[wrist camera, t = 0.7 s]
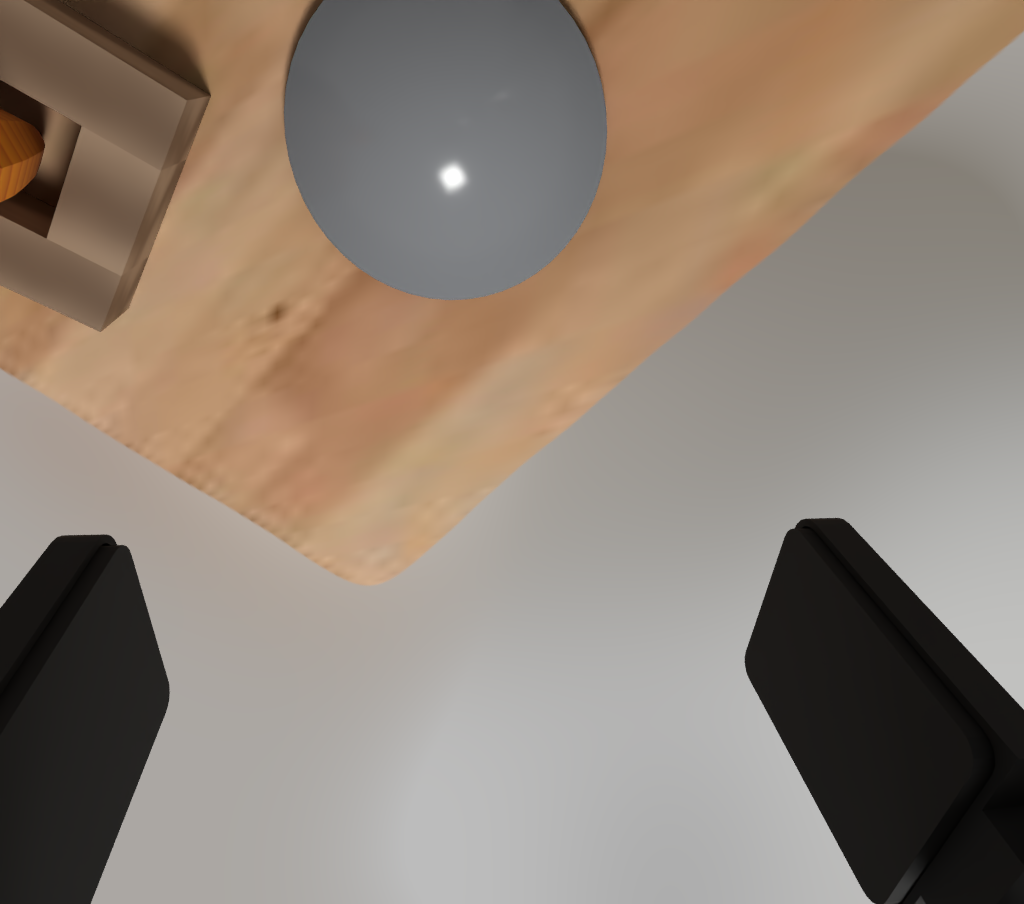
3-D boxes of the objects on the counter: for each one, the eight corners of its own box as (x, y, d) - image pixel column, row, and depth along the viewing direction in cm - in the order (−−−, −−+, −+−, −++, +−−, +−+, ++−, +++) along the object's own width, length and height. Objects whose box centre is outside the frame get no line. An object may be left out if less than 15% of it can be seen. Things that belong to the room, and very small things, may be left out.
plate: (382, -146, 31) (381, -152, 30) (665, 91, 37) (670, 92, 37) (236, 193, 38) (232, 196, 37) (496, 343, 45) (497, 349, 44)
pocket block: (-89, -92, 30) (-155, -110, 27) (210, 95, 35) (186, 100, 32) (-138, 179, 36) (-197, 193, 33) (128, 308, 41) (100, 332, 38)
